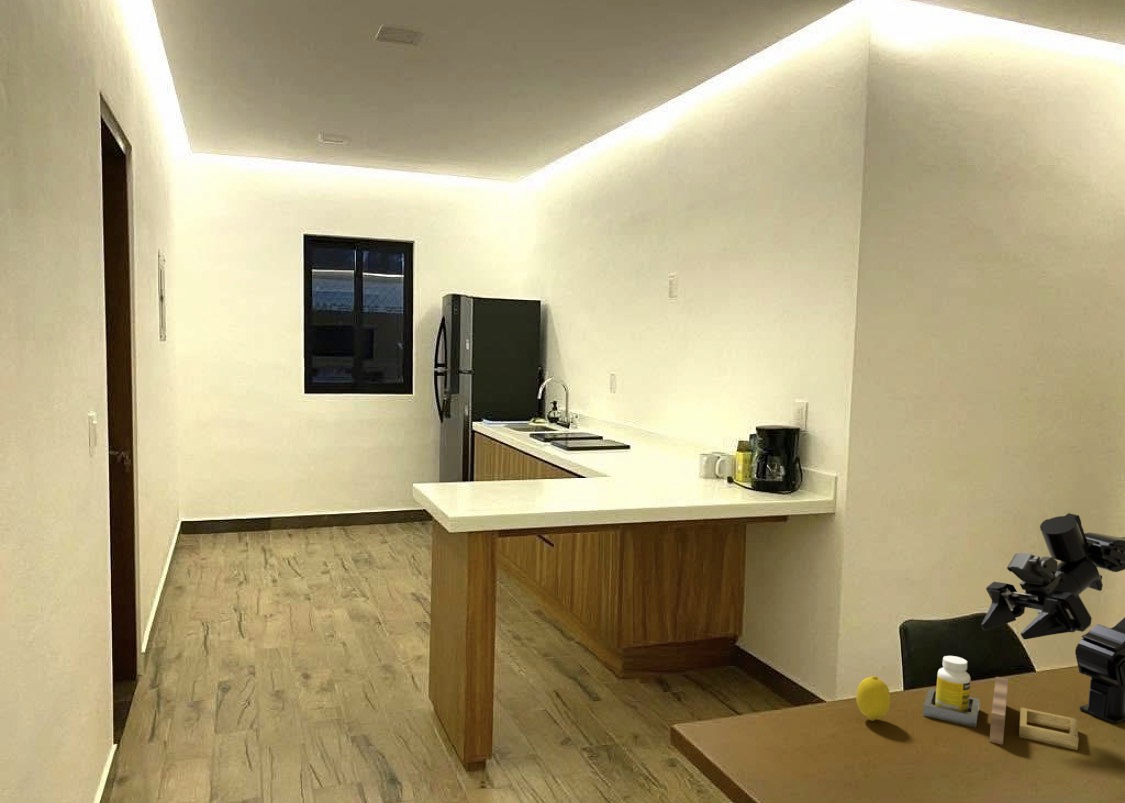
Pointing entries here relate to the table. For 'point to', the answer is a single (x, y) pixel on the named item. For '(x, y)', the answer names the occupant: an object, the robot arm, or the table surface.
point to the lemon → (873, 698)
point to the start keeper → (951, 711)
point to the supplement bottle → (953, 684)
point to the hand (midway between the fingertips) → (1002, 632)
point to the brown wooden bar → (998, 711)
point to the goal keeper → (1045, 734)
